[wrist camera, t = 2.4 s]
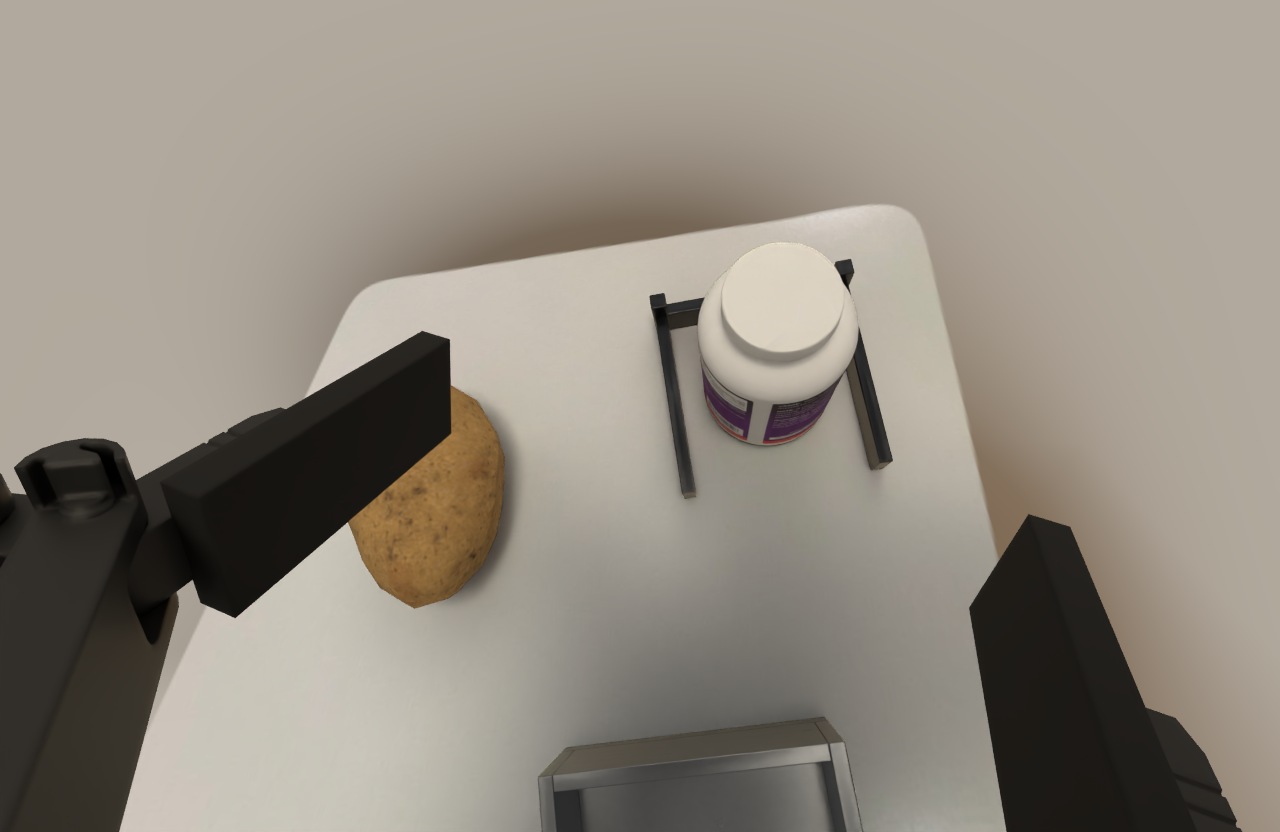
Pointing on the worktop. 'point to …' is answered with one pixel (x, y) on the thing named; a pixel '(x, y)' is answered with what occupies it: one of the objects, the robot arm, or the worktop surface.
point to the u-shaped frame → (856, 370)
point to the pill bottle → (775, 342)
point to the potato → (437, 513)
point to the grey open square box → (706, 783)
